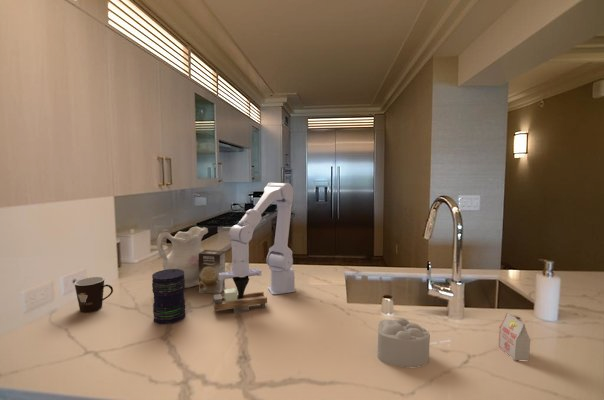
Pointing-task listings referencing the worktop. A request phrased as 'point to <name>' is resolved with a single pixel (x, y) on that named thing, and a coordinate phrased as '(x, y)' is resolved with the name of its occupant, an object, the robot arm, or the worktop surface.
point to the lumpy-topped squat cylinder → (403, 343)
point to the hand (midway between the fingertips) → (240, 297)
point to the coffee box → (211, 271)
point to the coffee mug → (90, 293)
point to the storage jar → (168, 296)
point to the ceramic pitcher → (183, 253)
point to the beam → (240, 302)
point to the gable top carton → (514, 338)
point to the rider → (230, 295)
